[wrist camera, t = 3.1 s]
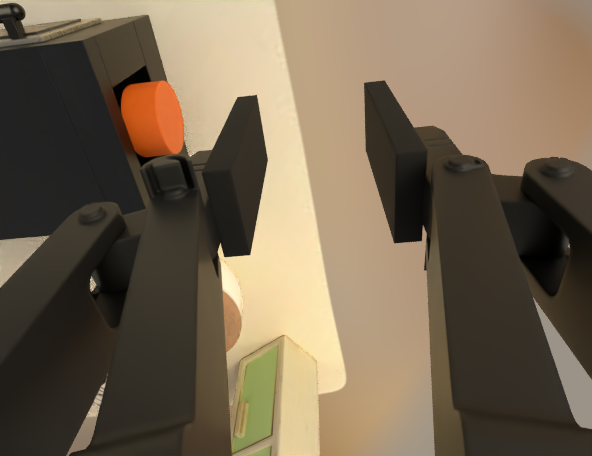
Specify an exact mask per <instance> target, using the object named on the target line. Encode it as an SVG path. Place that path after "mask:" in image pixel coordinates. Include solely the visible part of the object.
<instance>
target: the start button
mask: <svg viewBox="0 0 592 456" xmlns="http://www.w3.org/2000/svg"><path fill="white" fill-rule="evenodd" d="M121 114H122V117H123V119H124V122H125V125H126V128H127V130H128V133H129V136H130V139H131V142H132V144H133V147H134V150H135V151H136V153H137V154H139V155H140V156H142V157H153V156H163V155H173V154H178V153H179V152H180V151H181V149H182V147H183V142H184V124H183V117H182V112H181V108H180V105H179V102H178V99H177V96H176V94H175V92H174V90H173V89H172V87H171V86H170V84H169V83H167V82H166V81H154V82H146V83H137V84H130V85H128V86H126V87H125V89H124V91H123V93H122V98H121Z"/></svg>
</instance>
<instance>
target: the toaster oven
mask: <svg viewBox="0 0 592 456" xmlns="http://www.w3.org/2000/svg"><path fill="white" fill-rule="evenodd" d="M24 18H25V10H24V9H23V7H22V6H20V5H19V4H17V3H9V4H2V5H0V23H3V24H4V26H5V29H2V30H0V240H4V239H16V238H27V237H38V236H49V235H51V234H52V233H53V232H54V231H55V230H56V229H57V228H58V227H59V226H60V225H61V224H62V223H63V222H64V221H65V220H66V219H67V218H68V217H69V216H70V215H71V214H72V213H74V212H75V211H77V210H79V209H81V208H82V207H83V206H85V205H87V204H89V205H90V203H94V202H97V203H99V202H114V203H116V204H118V206H119V209H120V211H121V213H122V215H125V214H129V213H133V212H137V211H141V210H144V209H147V207H148V203H149V199H150V198H149V195H148V192H147V190H146V187H145V184H144V181H143V179H142V176H141V173H140V168H141V167H142V166H143V165H144V164H146V163H147V162H149V161H151V160H153V159H156V158H158V157H162V156H153V157H142V156H140V155H139V154H137V153H136V151H135V150H134V147H133V144H132V142H131V139H130V136H129V133H128V130H127V128H126V125H125V122H124V119H123V117H122V114H121V98H122V93H123V91H124V89H125V87H126V86H128V85H130V84H137V83H146V82H154V81H166V82H167V79H166V75H165V72H164V68H163V65H162V61H161V58H160V54H159V51H158V47H157V44H156V40H155V37H154V33H153V29H152V26H151V22H150V19H149V16H148V15H143V16H135V17H128V18H120V19H113V20H105V21H102V20H101V18H97V19H89V20H82V21H81V19H76V20H68V21H61V22H53V23H46V24H39V25H31V26H24V27H23V25H22V23H21V20H23V19H24ZM167 83H168V82H167ZM178 154H182V155H187V156H188V152H187V149H186V145H185V142H183V147H182V149H181V151H180V152H179V153H178ZM163 156H166V155H163Z"/></svg>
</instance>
